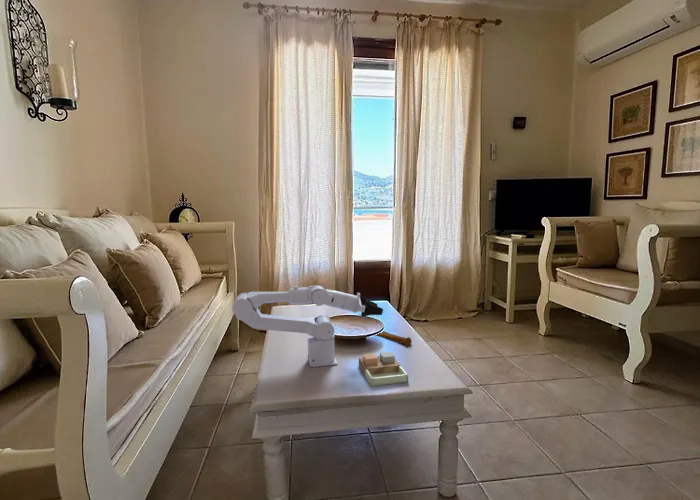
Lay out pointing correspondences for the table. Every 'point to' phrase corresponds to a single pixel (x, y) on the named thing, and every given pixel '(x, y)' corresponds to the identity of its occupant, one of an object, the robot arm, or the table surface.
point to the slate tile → (387, 357)
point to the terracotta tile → (370, 359)
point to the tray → (387, 377)
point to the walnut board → (379, 366)
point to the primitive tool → (395, 338)
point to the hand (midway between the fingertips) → (379, 309)
